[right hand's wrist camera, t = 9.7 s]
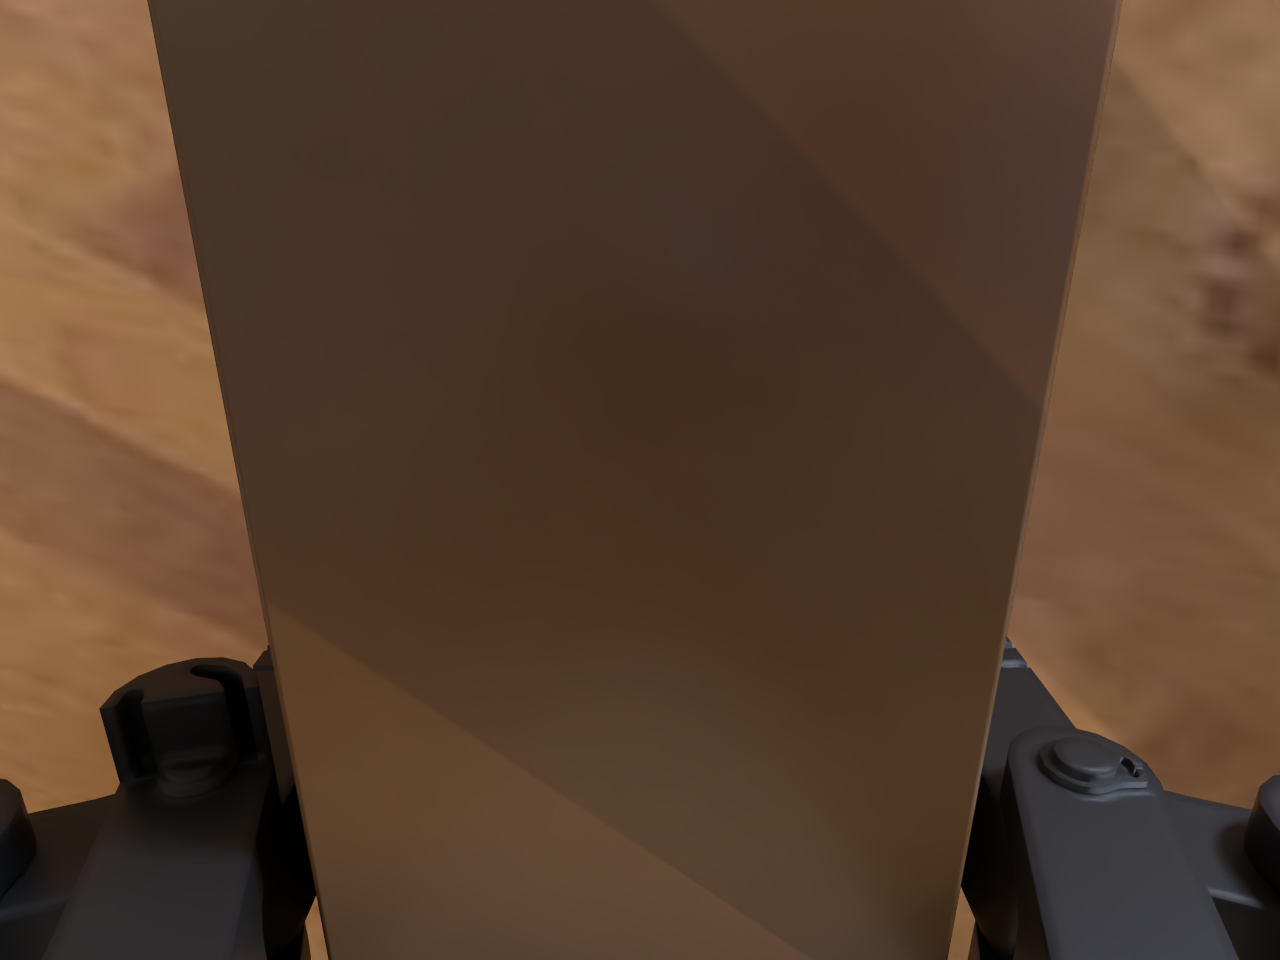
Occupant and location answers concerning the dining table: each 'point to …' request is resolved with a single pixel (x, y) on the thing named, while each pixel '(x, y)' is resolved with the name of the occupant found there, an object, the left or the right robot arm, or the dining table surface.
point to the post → (636, 444)
